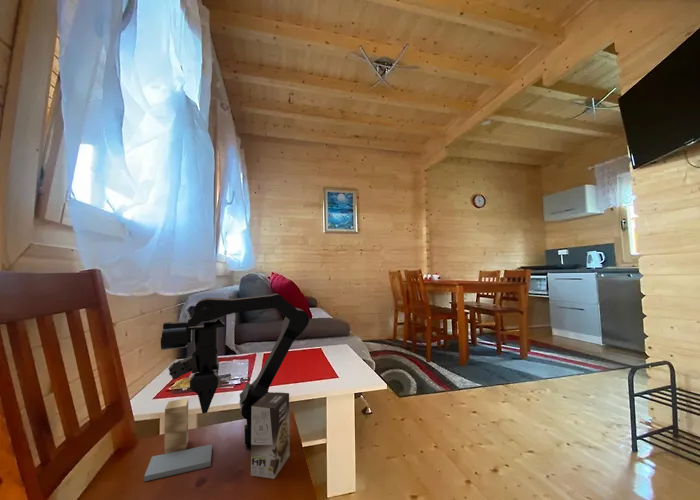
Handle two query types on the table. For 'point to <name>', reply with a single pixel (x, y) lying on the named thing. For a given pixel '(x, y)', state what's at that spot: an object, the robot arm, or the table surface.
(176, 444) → the block
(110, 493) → the table surface
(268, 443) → the coffee box
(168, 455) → the slate board
